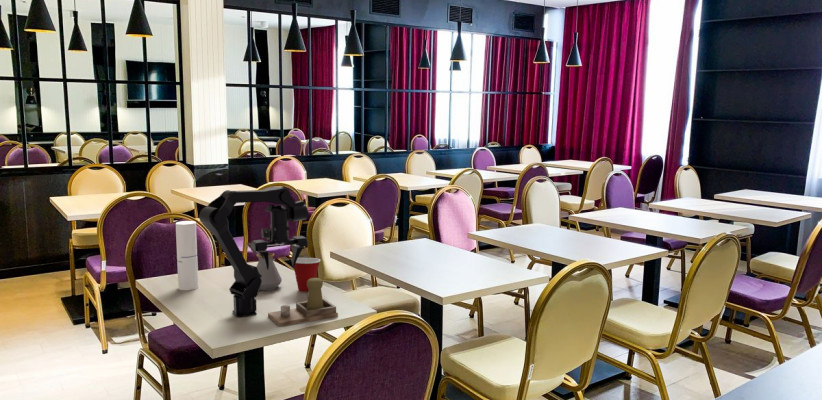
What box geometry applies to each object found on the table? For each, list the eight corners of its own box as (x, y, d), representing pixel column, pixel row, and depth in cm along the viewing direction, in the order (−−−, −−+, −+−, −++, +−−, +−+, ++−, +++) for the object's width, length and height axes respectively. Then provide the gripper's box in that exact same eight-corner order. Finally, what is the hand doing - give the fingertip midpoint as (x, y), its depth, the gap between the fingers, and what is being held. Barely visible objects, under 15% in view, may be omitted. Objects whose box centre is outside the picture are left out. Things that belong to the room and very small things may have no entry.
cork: (315, 314, 204) (314, 282, 203) (302, 311, 208) (301, 279, 206) (328, 310, 209) (327, 278, 208) (314, 306, 213) (314, 275, 211)
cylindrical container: (194, 290, 234) (191, 224, 231) (175, 290, 234) (172, 224, 231) (201, 285, 241) (198, 221, 238) (182, 284, 241) (180, 220, 238)
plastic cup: (325, 287, 240) (325, 256, 239) (313, 295, 230) (313, 263, 228) (299, 284, 243) (299, 254, 241) (286, 292, 233) (286, 261, 231)
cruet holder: (279, 326, 197) (278, 313, 196) (268, 316, 206) (267, 303, 206) (337, 316, 207) (337, 304, 206) (324, 307, 216) (324, 295, 216)
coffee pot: (287, 288, 238) (286, 249, 236) (259, 293, 231) (258, 254, 229) (261, 276, 255) (260, 240, 252) (234, 281, 247) (233, 244, 245)
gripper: (297, 217, 227) (297, 259, 229) (245, 221, 217) (247, 265, 220) (308, 222, 217) (309, 266, 219) (255, 227, 208) (256, 273, 210)
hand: (280, 267), depth 217 cm, fingers open, 9 cm apart
